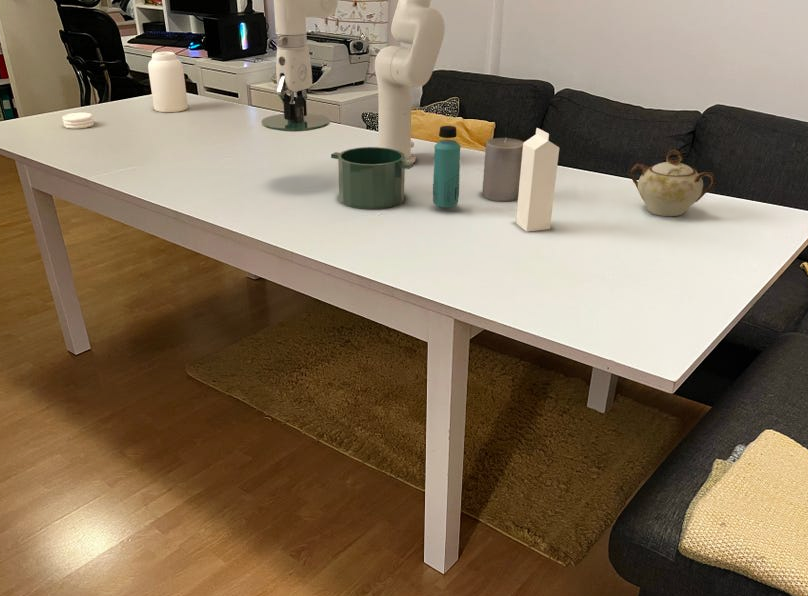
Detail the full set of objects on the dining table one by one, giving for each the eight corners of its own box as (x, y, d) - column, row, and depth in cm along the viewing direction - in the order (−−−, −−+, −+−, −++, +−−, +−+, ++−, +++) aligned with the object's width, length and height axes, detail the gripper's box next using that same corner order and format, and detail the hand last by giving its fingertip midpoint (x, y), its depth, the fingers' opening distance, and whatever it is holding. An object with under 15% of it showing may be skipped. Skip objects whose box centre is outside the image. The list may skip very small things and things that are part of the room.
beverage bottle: (456, 214, 182) (461, 130, 172) (429, 212, 183) (432, 129, 173) (459, 205, 188) (464, 124, 177) (433, 203, 189) (436, 122, 178)
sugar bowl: (616, 212, 183) (626, 151, 176) (633, 196, 194) (643, 137, 186) (699, 227, 174) (714, 163, 167) (713, 209, 185) (727, 148, 178)
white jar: (148, 112, 278) (139, 54, 268) (162, 105, 289) (154, 49, 279) (180, 113, 276) (172, 55, 266) (193, 106, 287) (186, 50, 277)
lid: (286, 115, 205) (285, 96, 203) (342, 121, 198) (342, 103, 196) (247, 128, 191) (246, 109, 189) (307, 136, 184) (306, 116, 182)
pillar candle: (497, 187, 200) (501, 130, 193) (527, 195, 194) (533, 137, 187) (474, 195, 194) (477, 137, 187) (504, 204, 188) (509, 144, 181)
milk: (526, 232, 172) (536, 135, 160) (515, 223, 177) (523, 128, 165) (550, 229, 173) (561, 132, 162) (538, 220, 178) (548, 126, 167)
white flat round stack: (73, 122, 265) (70, 111, 263) (99, 122, 263) (97, 112, 262) (58, 128, 256) (56, 118, 254) (86, 129, 255) (83, 119, 253)
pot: (349, 183, 203) (348, 142, 197) (423, 195, 194) (425, 153, 189) (318, 201, 190) (316, 158, 185) (396, 214, 182) (396, 169, 176)
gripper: (285, 47, 177) (290, 126, 186) (322, 38, 190) (324, 112, 199) (259, 44, 179) (265, 122, 189) (297, 36, 192) (300, 109, 202)
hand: (295, 116), depth 194 cm, fingers closed on lid, 4 cm apart
